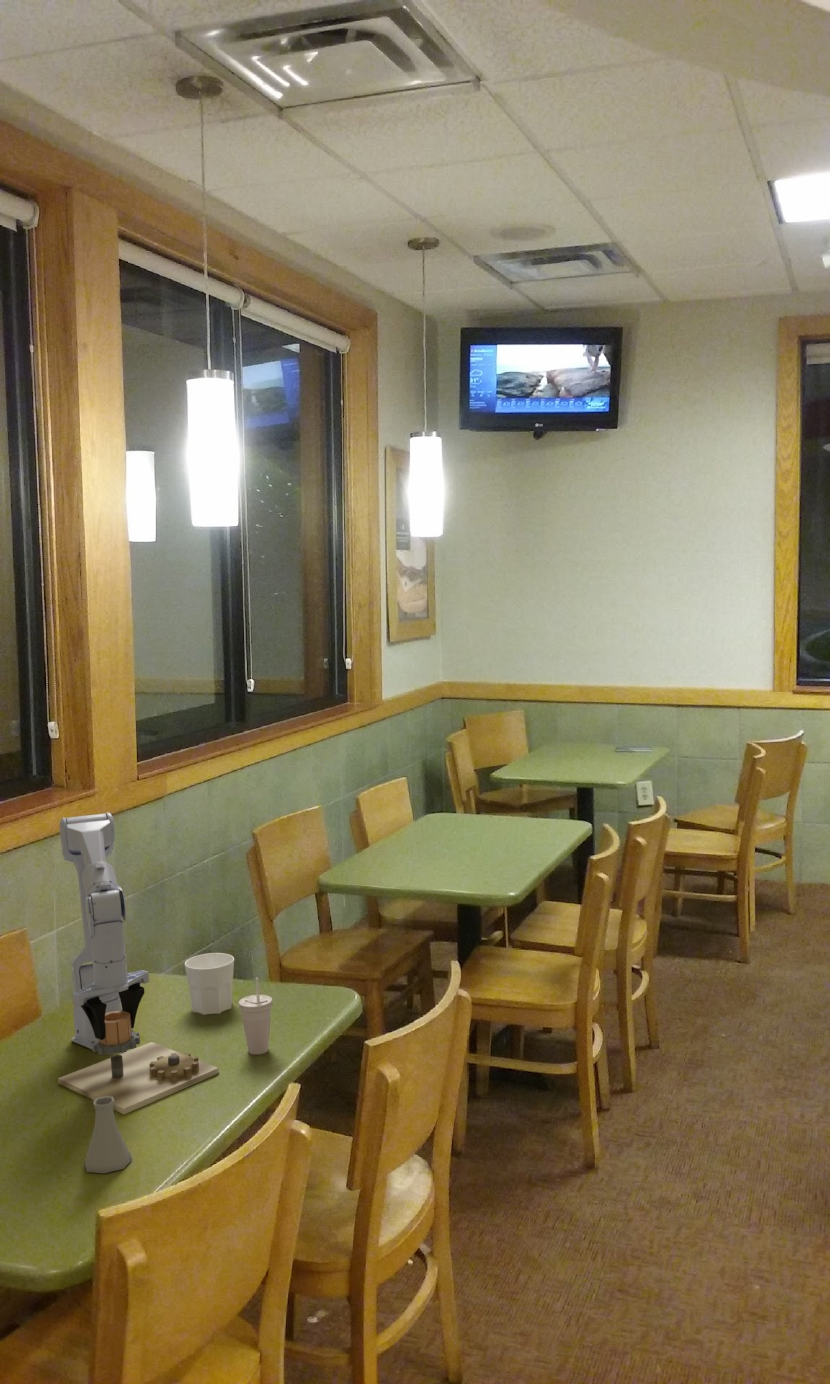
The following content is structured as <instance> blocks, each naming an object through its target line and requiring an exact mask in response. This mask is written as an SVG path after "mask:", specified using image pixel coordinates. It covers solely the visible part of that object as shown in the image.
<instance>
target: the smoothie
mask: <svg viewBox="0 0 830 1384" xmlns="http://www.w3.org/2000/svg"><path fill="white" fill-rule="evenodd" d="M259 980H260V979H259V977H255V992H256V993H255V994H252V995H247V996H244V997H243V998H241V999H239V1000H238V1010H240V1013H241V1019H242V1024H243V1029H244V1030H243V1031H244V1034H245V1040H246V1047H247V1051H248V1053H249V1054H251V1055H258V1056H259V1055H262V1054H263V1055H264V1054H266V1053H267V1052H268V1051H269V1046H270V1045H269V1044H270V1033H271V1032H270V1030H271V1015H272V1014H271V1013H272V1006H273V1005H274V1003H273V998H272V996H269V995H267V994H260V984H259Z"/></svg>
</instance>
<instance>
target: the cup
mask: <svg viewBox="0 0 830 1384" xmlns="http://www.w3.org/2000/svg"><path fill="white" fill-rule="evenodd" d="M234 966H235V958H234V956H233V955H231V954H229V953H223V952H210V953H203V954H198V955H195V956H192V957H190V958H188V959H186V961H185V962H184V968H185V974H186V977H187V978H186V979H187V986H188V989H189V997H190V1003H191V1004H190V1005H191V1011H192V1013H198V1014H201V1015H203V1016H205V1015H212V1014H213V1015H214V1014H216V1015H217V1014H218V1015H219V1014H221V1013H222V1012H225V1011H227V1010H231V1009H232V1003H233V979H234V968H235V967H234Z"/></svg>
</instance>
